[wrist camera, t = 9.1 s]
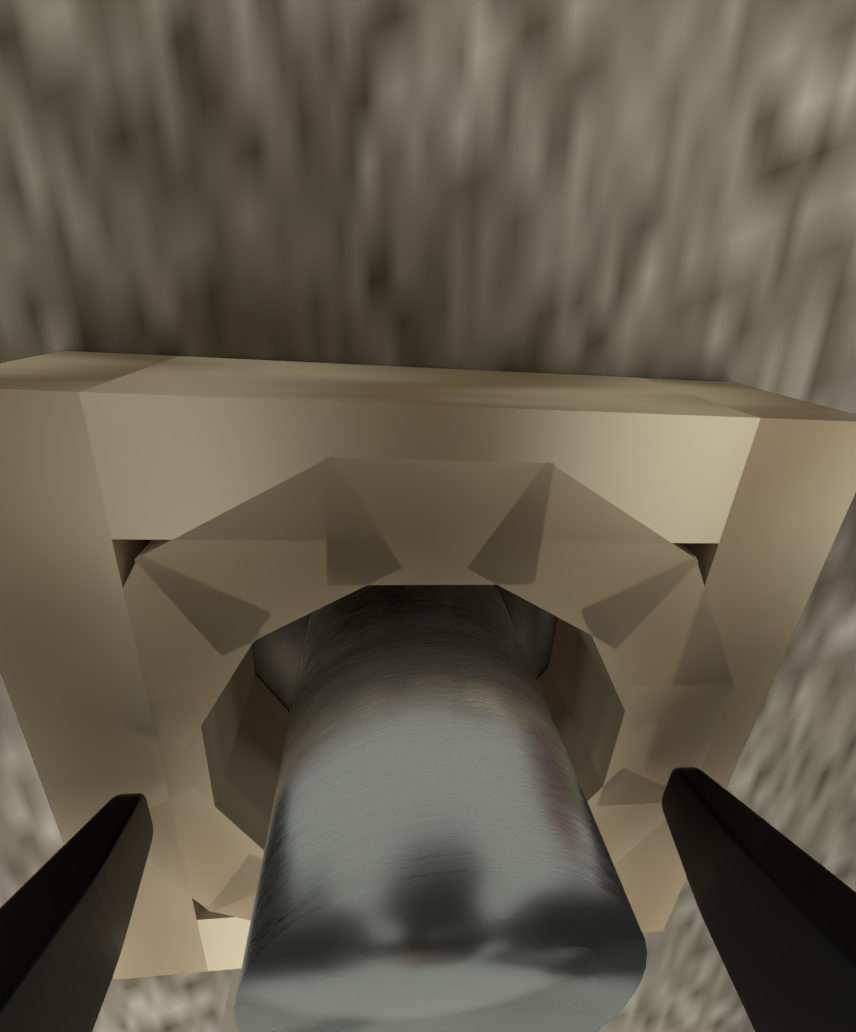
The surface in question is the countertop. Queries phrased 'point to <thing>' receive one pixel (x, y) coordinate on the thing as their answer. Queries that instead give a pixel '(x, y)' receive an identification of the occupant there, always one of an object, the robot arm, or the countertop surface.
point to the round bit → (431, 838)
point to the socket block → (386, 581)
